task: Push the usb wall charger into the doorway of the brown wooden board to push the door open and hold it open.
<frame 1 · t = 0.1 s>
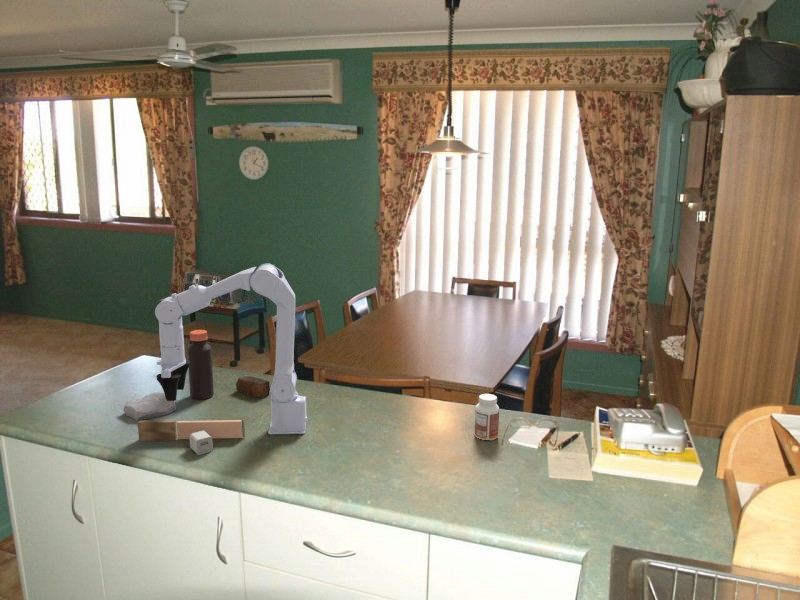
hand: (175, 394, 161), 10 cm above the worktop, tool pointing down, fingers open, 7 cm apart
stone block: (152, 414, 174), on the worktop
brick: (253, 394, 190), on the worktop
usb wall charger: (199, 448, 154), on the worktop
pill bottle: (485, 437, 164), on the worktop
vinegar: (202, 396, 187), on the worktop
brown wooden board: (158, 439, 158), on the worktop
door: (211, 428, 158), point 3 cm above the worktop, hinge at 0.0°
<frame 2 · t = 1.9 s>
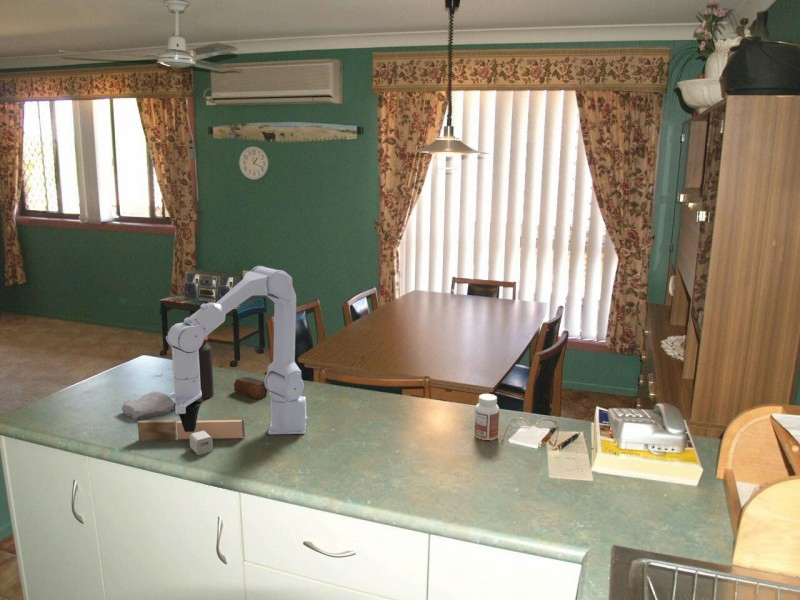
hand: (190, 430, 145), 8 cm above the worktop, tool pointing down, fingers closed
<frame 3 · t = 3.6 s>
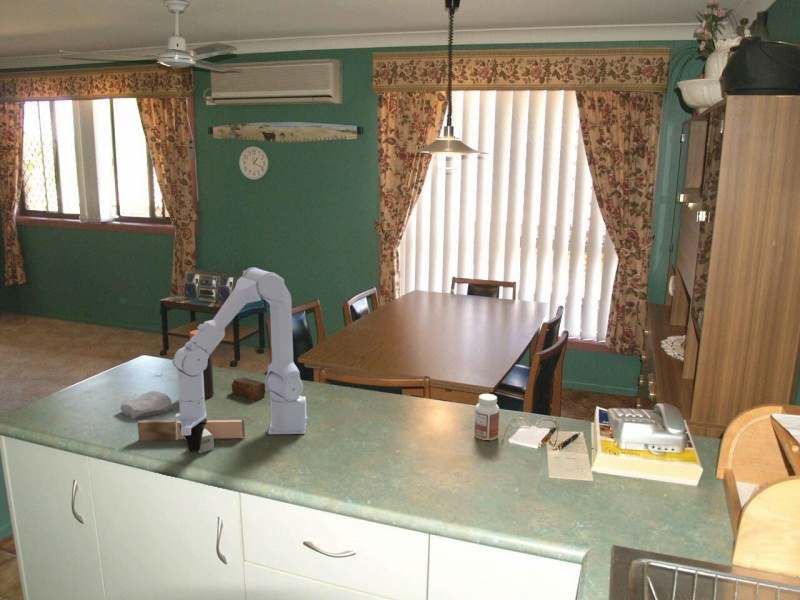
hand: (194, 450, 149), 1 cm above the worktop, tool pointing down, fingers closed
usb wall charger: (200, 446, 155), on the worktop, touching gripper
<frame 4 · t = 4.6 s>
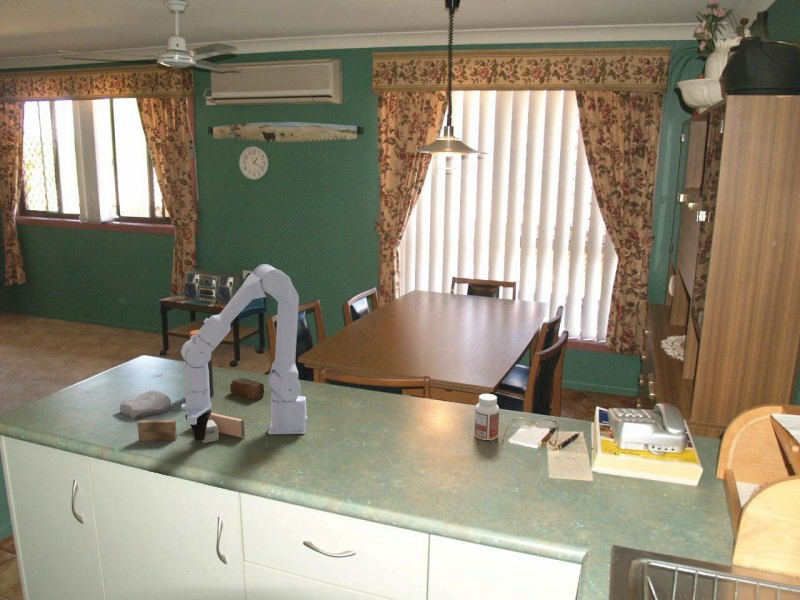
hand: (200, 439, 155), 1 cm above the worktop, tool pointing down, fingers closed
usb wall charger: (207, 437, 160), on the worktop, touching door, gripper
door: (218, 422, 162), point 3 cm above the worktop, hinge at -28.6°, touching usb wall charger
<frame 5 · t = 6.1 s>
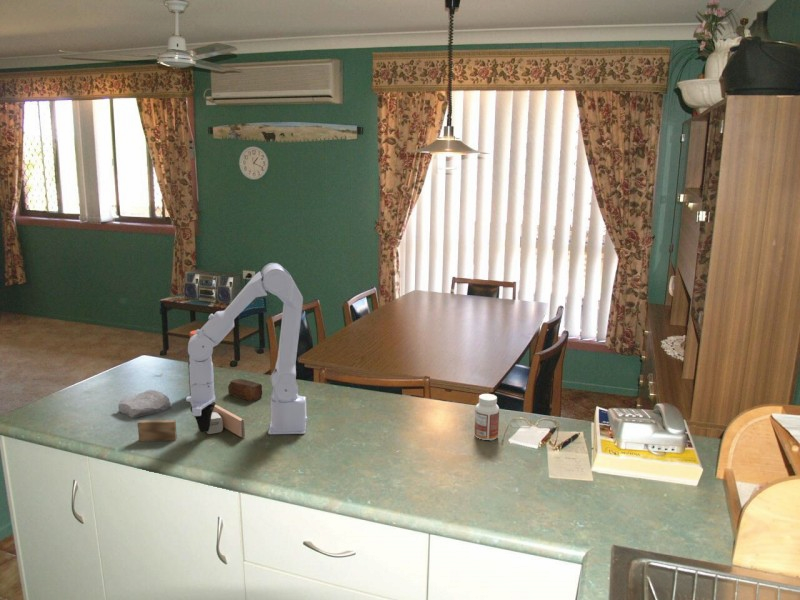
hand: (204, 431, 160), 1 cm above the worktop, tool pointing down, fingers closed
usb wall charger: (212, 428, 165), on the worktop, touching door, gripper
door: (226, 418, 164), point 3 cm above the worktop, hinge at -48.6°, touching usb wall charger
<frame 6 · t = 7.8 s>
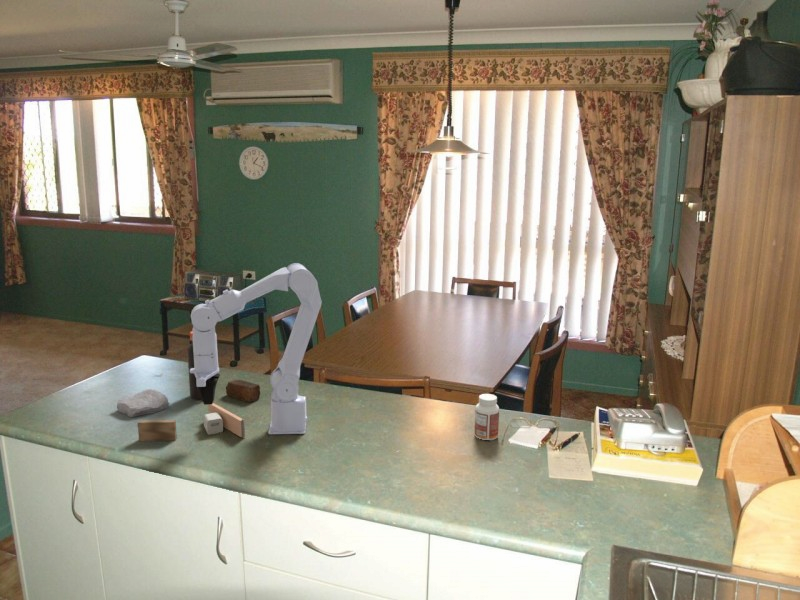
hand: (208, 403, 158), 9 cm above the worktop, tool pointing down, fingers closed
usb wall charger: (212, 429, 165), on the worktop
door: (226, 418, 164), point 3 cm above the worktop, hinge at -48.9°
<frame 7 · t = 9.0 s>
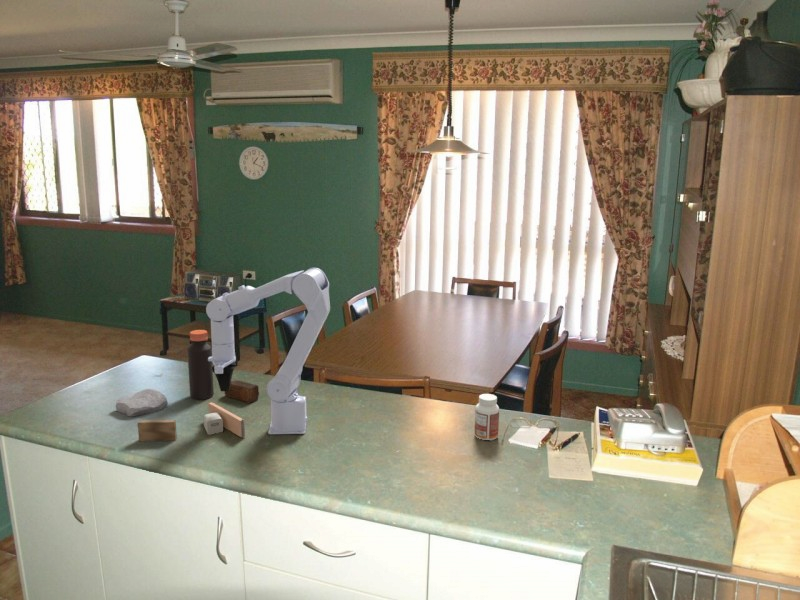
hand: (225, 390, 166), 9 cm above the worktop, tool pointing down, fingers closed
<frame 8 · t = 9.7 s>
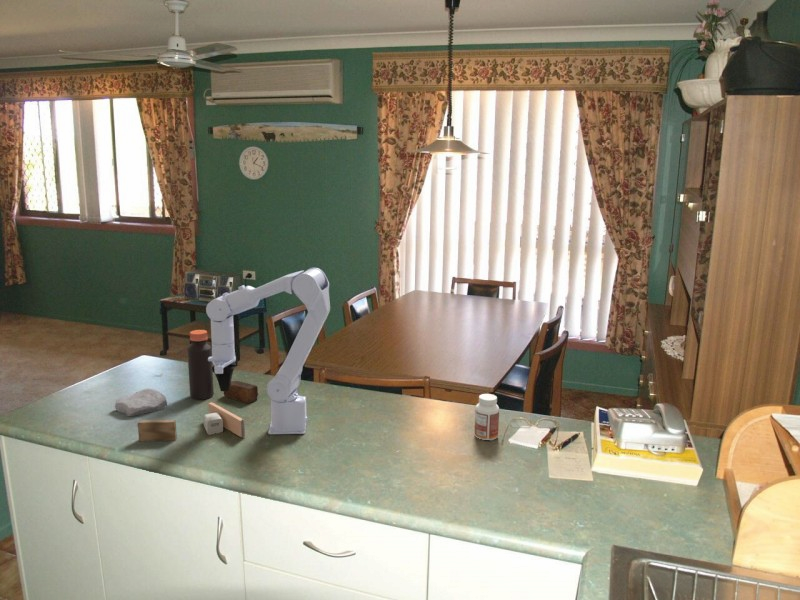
hand: (225, 390, 166), 9 cm above the worktop, tool pointing down, fingers closed
at the end: door at -49° (first picture: +0°); usb wall charger inside the target area (2.3 cm from its centre), on the worktop; usb wall charger moved 11.3 cm from its start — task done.
